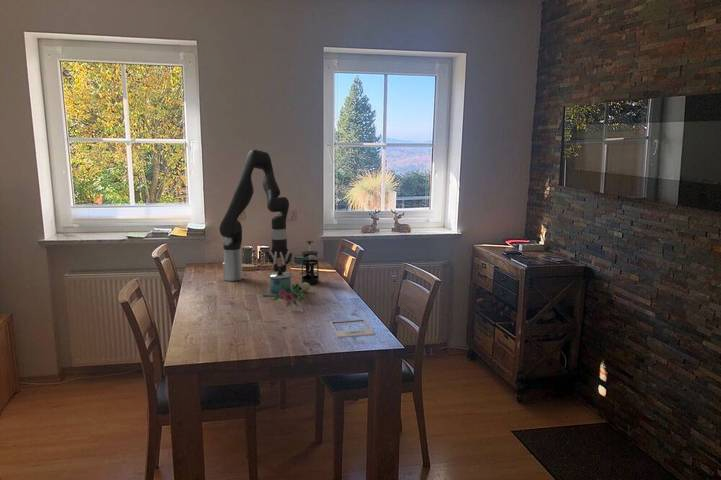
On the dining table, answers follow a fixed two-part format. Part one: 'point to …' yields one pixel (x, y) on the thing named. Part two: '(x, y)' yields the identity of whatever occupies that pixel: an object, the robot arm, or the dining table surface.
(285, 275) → the lid
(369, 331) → the photo frame
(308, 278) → the french press
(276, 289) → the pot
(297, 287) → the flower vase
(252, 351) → the dining table surface
